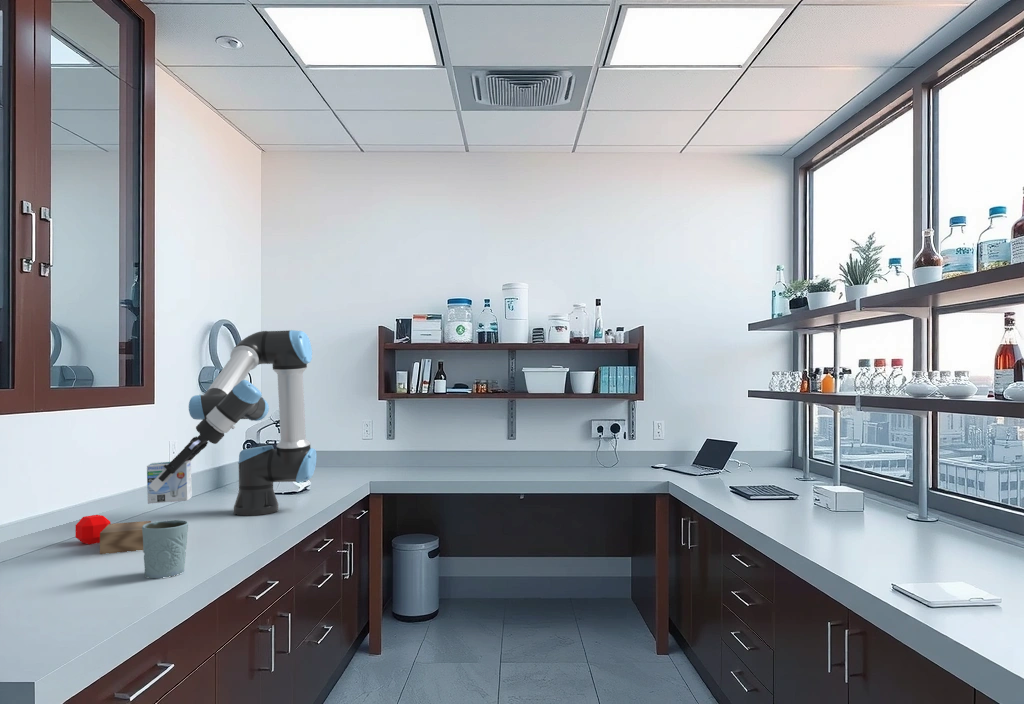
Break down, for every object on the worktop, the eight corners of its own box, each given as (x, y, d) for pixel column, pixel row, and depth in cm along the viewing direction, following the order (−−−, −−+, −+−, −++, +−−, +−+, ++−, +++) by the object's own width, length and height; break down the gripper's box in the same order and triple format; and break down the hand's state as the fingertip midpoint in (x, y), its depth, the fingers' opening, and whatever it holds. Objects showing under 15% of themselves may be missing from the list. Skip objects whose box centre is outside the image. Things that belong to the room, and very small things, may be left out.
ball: (114, 541, 211) (114, 515, 211) (85, 546, 204) (85, 519, 204) (100, 538, 215) (100, 512, 215) (71, 543, 209) (72, 517, 209)
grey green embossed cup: (166, 567, 179) (166, 518, 179) (197, 570, 175) (197, 521, 175) (131, 577, 169) (132, 526, 170) (164, 581, 166) (164, 529, 166)
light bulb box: (147, 504, 199) (145, 465, 199) (152, 500, 205) (151, 462, 206) (188, 500, 202) (187, 462, 202) (192, 496, 208) (191, 459, 208)
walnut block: (99, 555, 194) (99, 533, 195) (108, 544, 208) (109, 523, 208) (145, 551, 198) (145, 529, 199) (151, 541, 211) (151, 520, 212)
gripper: (218, 436, 198) (156, 501, 194) (231, 432, 217) (175, 490, 213) (197, 418, 197) (135, 482, 193) (212, 415, 216) (155, 474, 212)
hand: (156, 486), depth 203 cm, fingers closed on light bulb box, 7 cm apart
